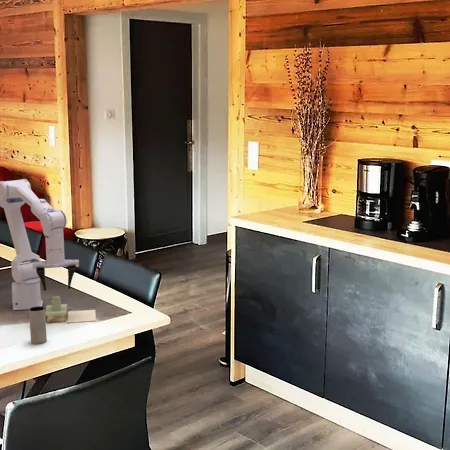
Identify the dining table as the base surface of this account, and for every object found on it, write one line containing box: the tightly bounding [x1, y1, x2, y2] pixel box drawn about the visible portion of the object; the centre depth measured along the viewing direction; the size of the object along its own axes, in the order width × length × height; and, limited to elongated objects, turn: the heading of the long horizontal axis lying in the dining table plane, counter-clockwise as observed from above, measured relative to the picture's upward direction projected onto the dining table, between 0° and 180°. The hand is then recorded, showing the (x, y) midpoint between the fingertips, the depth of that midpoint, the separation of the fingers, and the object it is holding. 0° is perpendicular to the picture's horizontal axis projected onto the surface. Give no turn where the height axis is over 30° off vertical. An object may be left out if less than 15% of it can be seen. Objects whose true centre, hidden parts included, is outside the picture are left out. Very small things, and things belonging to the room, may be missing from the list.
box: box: [46, 315, 67, 324], centre depth 221 cm, size 6×8×2 cm
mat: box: [66, 309, 97, 324], centre depth 222 cm, size 9×11×1 cm
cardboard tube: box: [28, 305, 48, 345], centre depth 200 cm, size 4×4×10 cm
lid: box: [45, 295, 68, 317], centre depth 220 cm, size 7×9×5 cm
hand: (57, 288), depth 219 cm, fingers open, 7 cm apart
